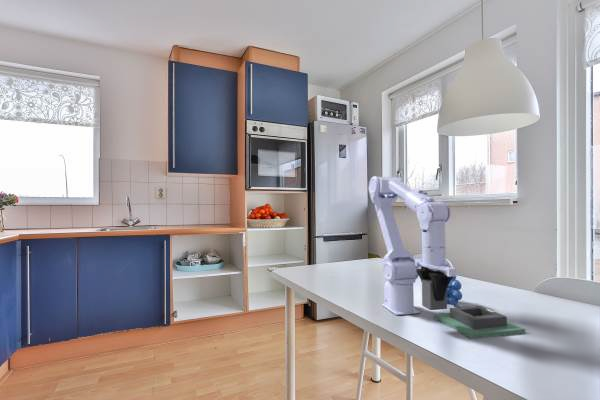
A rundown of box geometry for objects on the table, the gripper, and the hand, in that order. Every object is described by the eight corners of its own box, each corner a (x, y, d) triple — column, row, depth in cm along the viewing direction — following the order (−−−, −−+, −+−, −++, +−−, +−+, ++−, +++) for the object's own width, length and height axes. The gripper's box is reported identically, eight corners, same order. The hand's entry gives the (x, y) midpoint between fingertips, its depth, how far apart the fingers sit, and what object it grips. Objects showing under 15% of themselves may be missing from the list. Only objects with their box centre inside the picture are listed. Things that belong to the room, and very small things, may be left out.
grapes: (425, 299, 106) (425, 264, 106) (442, 297, 107) (441, 263, 107) (449, 310, 94) (449, 271, 95) (467, 308, 96) (467, 270, 96)
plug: (422, 305, 81) (421, 278, 81) (438, 304, 82) (437, 278, 82) (430, 310, 78) (430, 282, 78) (447, 308, 79) (446, 281, 79)
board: (434, 318, 88) (434, 305, 88) (482, 313, 91) (481, 301, 91) (471, 338, 74) (470, 323, 74) (525, 332, 77) (525, 318, 77)
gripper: (466, 250, 74) (467, 305, 74) (430, 242, 88) (430, 289, 88) (441, 251, 73) (442, 307, 72) (408, 243, 87) (408, 291, 86)
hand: (434, 298), depth 80 cm, fingers closed on plug, 4 cm apart
